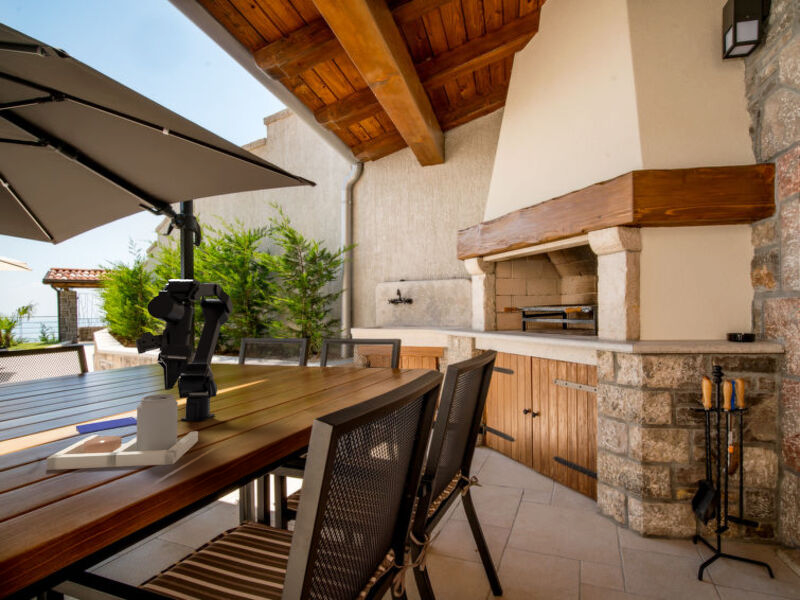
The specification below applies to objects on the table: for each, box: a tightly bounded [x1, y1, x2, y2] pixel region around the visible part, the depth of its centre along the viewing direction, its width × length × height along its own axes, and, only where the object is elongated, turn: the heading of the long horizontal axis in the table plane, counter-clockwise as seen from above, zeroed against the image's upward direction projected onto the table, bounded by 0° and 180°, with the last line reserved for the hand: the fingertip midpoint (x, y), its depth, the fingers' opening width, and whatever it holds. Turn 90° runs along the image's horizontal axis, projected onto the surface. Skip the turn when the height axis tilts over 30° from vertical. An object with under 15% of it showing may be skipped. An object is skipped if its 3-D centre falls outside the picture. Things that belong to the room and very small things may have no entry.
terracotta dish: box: [84, 435, 123, 454], centre depth 85 cm, size 6×6×3 cm
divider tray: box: [46, 430, 199, 471], centre depth 85 cm, size 14×23×3 cm, turn 98°
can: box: [136, 393, 179, 451], centre depth 86 cm, size 8×8×12 cm
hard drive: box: [75, 416, 137, 435], centre depth 105 cm, size 2×8×12 cm
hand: (168, 389), depth 98 cm, fingers open, 9 cm apart
